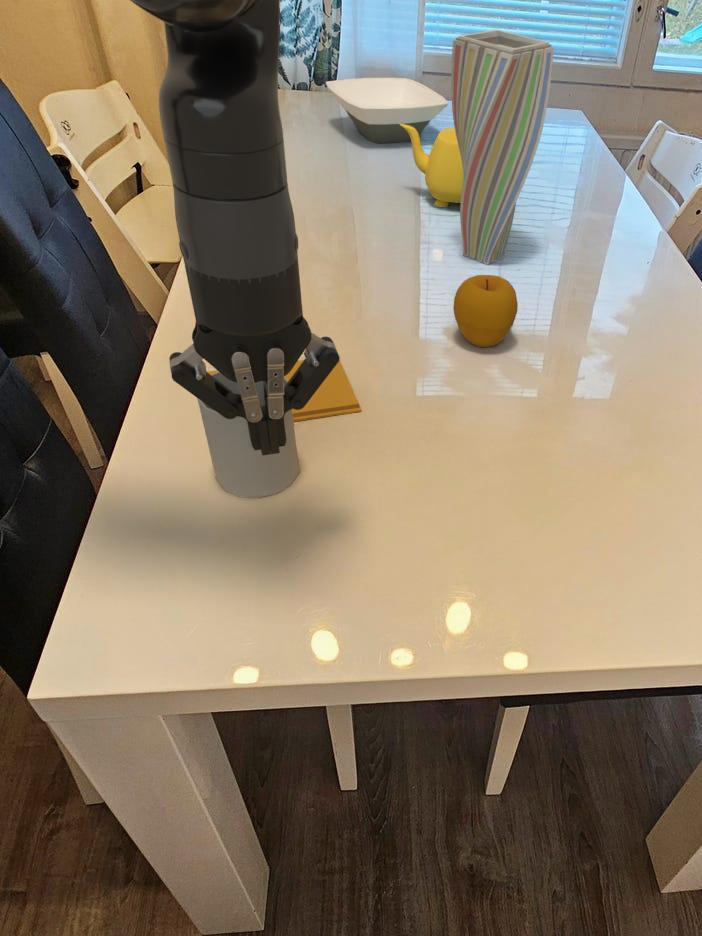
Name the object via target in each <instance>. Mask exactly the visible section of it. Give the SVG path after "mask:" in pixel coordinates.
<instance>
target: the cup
mask: <svg viewBox="0 0 702 936" xmlns="http://www.w3.org/2000/svg"><path fill="white" fill-rule="evenodd" d="M212 376H213V377H214V378H215V379H217V380H218V381H219V382H221V383H222V384H223V385H225V386H226V387H227V388H228V389H230V390H231V391H232V392H233V393H235V394H240V390H239V386H238V383H237V382H233V381H231V380H229V379H227V378H226V377H225V376H224V375H222V374H221V373H220V372H217V373H214V374H212ZM287 383H288V381H287V380H286V379H285V378H284V388H285V386H286V384H287ZM255 387H256V391H257V395H258V399H259V402H260V406H262V408H263V406H264V405H265V400H264V392H263V381H259V382H256V383H255ZM196 399H197V403H198V407H199V412H200V416H201V421H202V424H203V428H204V433H205V437H206V442H207V445H208V450H209V451H208V452H209V455H210V459H211V463H212V468H213V472H214V475H215V476H214V477H215V480H216V482H217V483H218V485H220V488H222V489H223V490H224V491H226V492H228V493H230V494H233V495H235V496H237V497H240V498H241V497H242V498H254V499H255V498H256V499H258V498H265V497H268V496H272V495H276V494H279V493H281V492H283V490H285V489H287V488H288V487H290V486H292V485H293V484H294V482H295V480H296V479H297V477H298V476H299V474H300V467H299V465H300V464H299V456H298V447H297V439H296V432H295V423H294V422H293V413H292V409H291V410H289V411H287V412H286V413H285V415H284V424H285V432H286V444H285V446H282V447H279V450H280V453H277V454H270V455H264V456H262V453H261V450H254V448H253V447H252V444H251V440H250V436H249V430H248V424H247V420H246V419H245V418H243V417H238V416H237V417H235V418H234V419H226V418H224V417H223V416H222V415H220V414H219V413H217V412H216V411H215V410H213V409H212V408H211V407H209V406H208V405H206V404H205V403H204V402H202V401H201V400H200V399H198V398H197V397H196ZM270 452H271V451H270Z"/></svg>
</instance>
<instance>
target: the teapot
mask: <svg viewBox="0 0 702 936" xmlns="http://www.w3.org/2000/svg"><path fill="white" fill-rule="evenodd" d="M400 125H401V126H402V127H403V128H404V129H405V130H406V131H407V132H408V134H409V136H410V138H411V141H410V142H411V147H412V156H413V160H414V163H415V165H416V168H417V169H418V170H419V171H420V172H421V173H422V174H424V181H425V185H426V187H427V190H428V192H429V193H430V195H431V197H432V198H434V199H435V201H434V205H435V206H436V207H438V208H446V207H448V206H449V205H450V203H455V204H461V195H462V189H463V166H462V159H461V155H460V150H459V146H458V142H457V137H456V132H455V127H447V128H443V129H442V130H441V131H439V133H438V134H437V136H436V138H435V139H434V142H433V145H432V147H431V149H430V152H429V154H427V153H426V152H425V151H424V149H423V148H422V144H421V138H420V135H419V134H418V132H417V130H416V129H415V128H414V127H412V126H409V125H405V124H400Z"/></svg>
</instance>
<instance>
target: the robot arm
mask: <svg viewBox="0 0 702 936" xmlns="http://www.w3.org/2000/svg"><path fill="white" fill-rule="evenodd" d="M129 1H130V2H132V3H133V4H134V5H135V6H137V7H138V8H140V9H141V10H143V11H144V12H146V13H147V14H149V15H150V16H152V17H153V18H155V19H157V20H159V21H161V22H163V26H164V34H165V43H166V51H167V52H166V53H167V63H166V69H165V72H164V76H163V77H162V81H161V84H160V87H159V91H158V110H159V119H160V120H159V121H160V125H161V131H162V135H163V140H164V145H165V151H166V154H167V161H168V165H169V170H170V176H171V182H172V190H173V199H174V215H175V216H174V217H175V223H176V228H177V234H178V238H179V241H178V245H179V250H180V253H181V255H182V259H183V263H184V270H185V274H186V279H187V283H188V289H189V293H190V299H191V303H192V308H193V313H194V320H195V326H194V328H193V330H192V334H191V338H192V339H191V340H192V344H190V346H188V347H187V348H186V349H185V350H184V351H182V352H180V351H175V352H173V353H171V354H170V355H169V369H170V370H169V371H170V374H171V379H172V381H173V382H175V383H176V384H177V385H179V386H180V387H182V388H183V389H184V390H186V391H187V392H189V393H190V394H191V395H193V396H194V397H195V398H196V399H197V398H198V399H200V400H201V401H202V402H204V403H205V404H206V405H208V406H209V407H211V408H212V409H213V410H215V411H216V412H217V413H219V414H220V415H222V416H223V417H224V418H226V419H234V418H235V417H237V416H238V417H243V418H245V419H246V420H247V424H248V430H249V436H250V440H251V444H252V447H253V448H254V450H261V453H262V456H264V455H270V454H277V453H280V450H279V447H282V446H285V444H286V432H285V424H284V415H285V413H286V412H287V411H289V410H291V409H295V410H300V409H302V408H304V406H305V405H306V404H307V403H308V401H309V400H310V399H311V397H312V396H313V395H314V393H315V392H316V391H317V389H318V388H319V387H320V386H321V384H322V383H323V382H324V380H325V379H326V378H327V376H328V375H329V374H330V372H331V371H332V370H333V369H334V367H335V366H336V365H337V363H338V362H339V360H340V355H339V352H338V349H337V348H336V345H335V343H334V341H333V338H331V337H329V336H322V337H320V336H318V335H316V334H314V333H313V332H312V330H311V328H310V326H309V322H308V321H307V319H306V318H305V317H304V311H303V302H302V290H301V289H302V288H301V277H300V266H299V253H298V252H299V251H298V250H299V236H298V235H297V231H296V230H297V229H296V221H295V214H294V208H293V204H292V200H291V196H290V195H291V194H290V190H289V184H288V171H287V161H286V150H285V149H286V148H285V139H284V131H283V124H282V123H283V122H282V117H281V116H282V115H281V111H280V105H279V104H280V102H279V63H280V27H281V26H280V25H281V24H280V22H281V20H280V19H281V18H280V17H281V15H280V14H281V13H280V9H281V7H280V5H281V3H280V0H129ZM303 354H304V357H305V358H304V359H303V360H304V361H303V362H302V364H301V365H300V366H299V368H298V369H297V370H296V372H295V373H294V374H293V376H292V377H291V379H290V380H289V381H288V383H287V384H286V386H285V388H284V376H286V375H287V374H288V373H289V372H290V371H291V370H292V368H293V367H294V365H295V364H296V362H297V361H299V360H300V358H301V357H302V355H303ZM205 361H206V362H207V363H208V364H209V365H211V366H212V367H213V368H214V369H215V371H219V372H220V373H221V374H222V375H224V376H225V377H226V378H227V379H229V380H231V381H233V382H237V383H238V386H239V390H240V394H235V393H233V392H232V391H231V390H230V389H228V388H227V387H226V386H225V385H223V384H222V383H221V382H219V381H218V380H217V379H215V378H214V377H213V376H212V375H210V374H209V373H208V372H209V371H207V366H206V363H205ZM340 361H341V360H340ZM259 381H263V392H264V400H265V405H264V406H263V408H262V406H260V402H259V399H258V395H257V391H256V387H255V383H256V382H259ZM198 399H197V400H198ZM270 451H271V452H270Z"/></svg>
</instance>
